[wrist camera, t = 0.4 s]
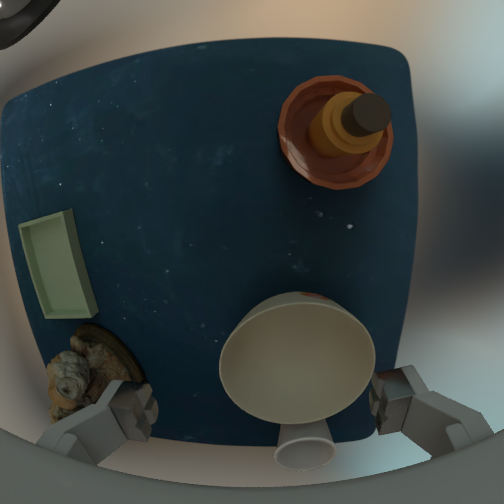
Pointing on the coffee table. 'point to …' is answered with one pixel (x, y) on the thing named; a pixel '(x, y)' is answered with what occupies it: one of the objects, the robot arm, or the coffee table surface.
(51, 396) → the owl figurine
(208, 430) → the coffee table surface
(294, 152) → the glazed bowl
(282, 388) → the bowl
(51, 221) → the tray
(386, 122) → the bottle
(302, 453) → the dixie cup
